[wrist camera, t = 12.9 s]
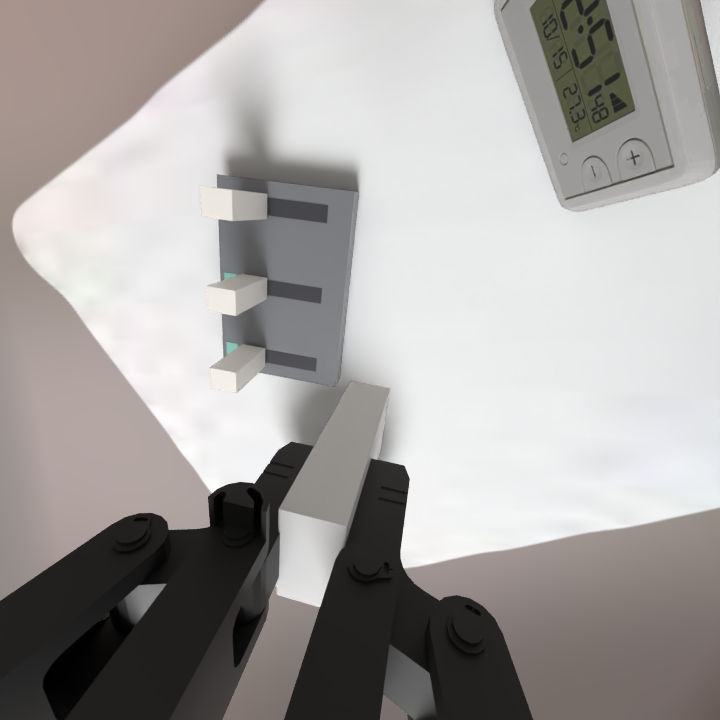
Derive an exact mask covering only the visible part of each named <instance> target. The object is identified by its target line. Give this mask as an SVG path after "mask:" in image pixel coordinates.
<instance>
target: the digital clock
mask: <svg viewBox="0 0 720 720" xmlns="http://www.w3.org/2000/svg"><path fill="white" fill-rule="evenodd" d="M494 13H495V17H496V21H497V24H498V27H499V31H500V34H501V37H502V40H503V43H504V46H505V49H506V51H507V54H508V57H509V60H510V63H511V66H512V69H513V72H514V75H515V78H516V80H517V83H518V86H519V89H520V92H521V95H522V98H523V101H524V104H525V107H526V109H527V112H528V115H529V118H530V121H531V124H532V127H533V130H534V133H535V135H536V138H537V141H538V144H539V147H540V150H541V153H542V156H543V159H544V162H545V164H546V167H547V170H548V173H549V176H550V179H551V182H552V184H553V187H554V190H555V193H556V195H557V198H558V200H559V203H560V204H561V206H562V207H563V208H565V209H568V210H571V211H575V212H581V211H586V210H590V209H594V208H598V207H602V206H606V205H610V204H615V203H619V202H623V201H627V200H631V199H635V198H639V197H643V196H647V195H651V194H656V193H660V192H664V191H668V190H672V189H676V188H680V187H684V186H687V185H691V184H694V183H697V182H700V181H703V180H705V179H707V178H709V177H710V176H712V175H713V174H714V173H716V172H717V170H718V169H719V168H720V94H719V89H718V84H717V79H716V74H715V70H714V65H713V60H712V55H711V51H710V46H709V41H708V36H707V32H706V27H705V22H704V17H703V12H702V8H701V3H700V0H496V1H495V5H494Z"/></svg>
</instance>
